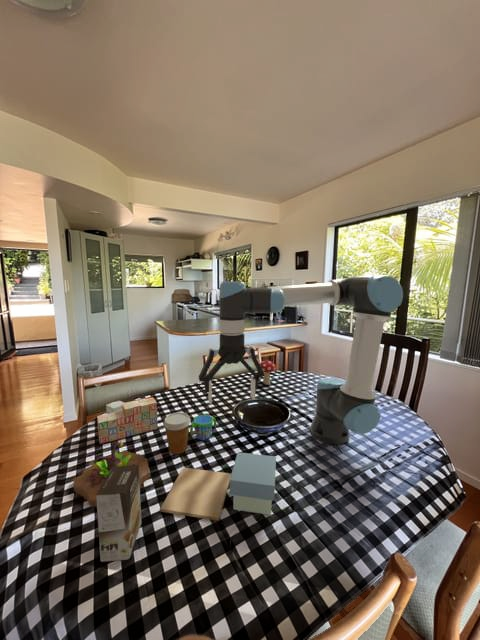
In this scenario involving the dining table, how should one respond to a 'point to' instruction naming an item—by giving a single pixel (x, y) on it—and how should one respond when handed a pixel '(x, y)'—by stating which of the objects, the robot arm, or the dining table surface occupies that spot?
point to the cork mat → (198, 494)
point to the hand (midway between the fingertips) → (231, 399)
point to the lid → (253, 476)
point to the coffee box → (119, 513)
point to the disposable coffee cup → (177, 432)
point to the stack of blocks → (128, 420)
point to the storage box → (252, 504)
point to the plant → (107, 472)
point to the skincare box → (114, 407)
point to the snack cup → (203, 426)
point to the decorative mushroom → (267, 370)
